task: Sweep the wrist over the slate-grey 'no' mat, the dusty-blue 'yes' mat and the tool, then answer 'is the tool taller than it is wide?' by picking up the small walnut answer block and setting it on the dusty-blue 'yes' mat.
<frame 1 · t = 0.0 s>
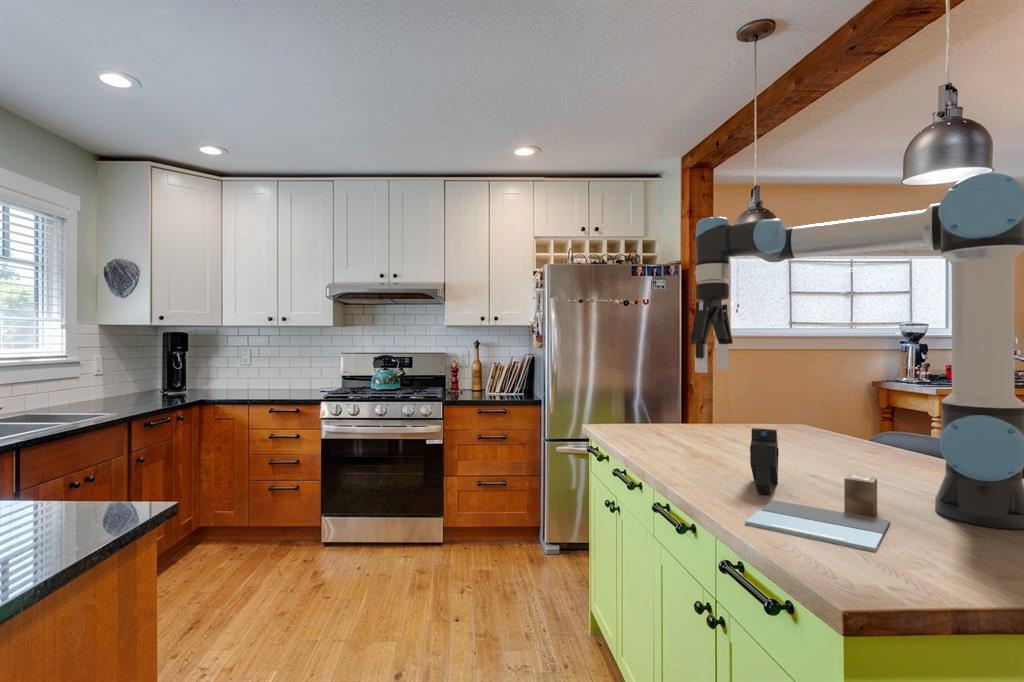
hand: (712, 371, 131), 28 cm above the countertop, fingers open, 13 cm apart
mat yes: (811, 530, 101), on the countertop
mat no: (823, 518, 108), on the countertop
answer block: (860, 512, 112), on the countertop
tool: (764, 487, 132), on the countertop
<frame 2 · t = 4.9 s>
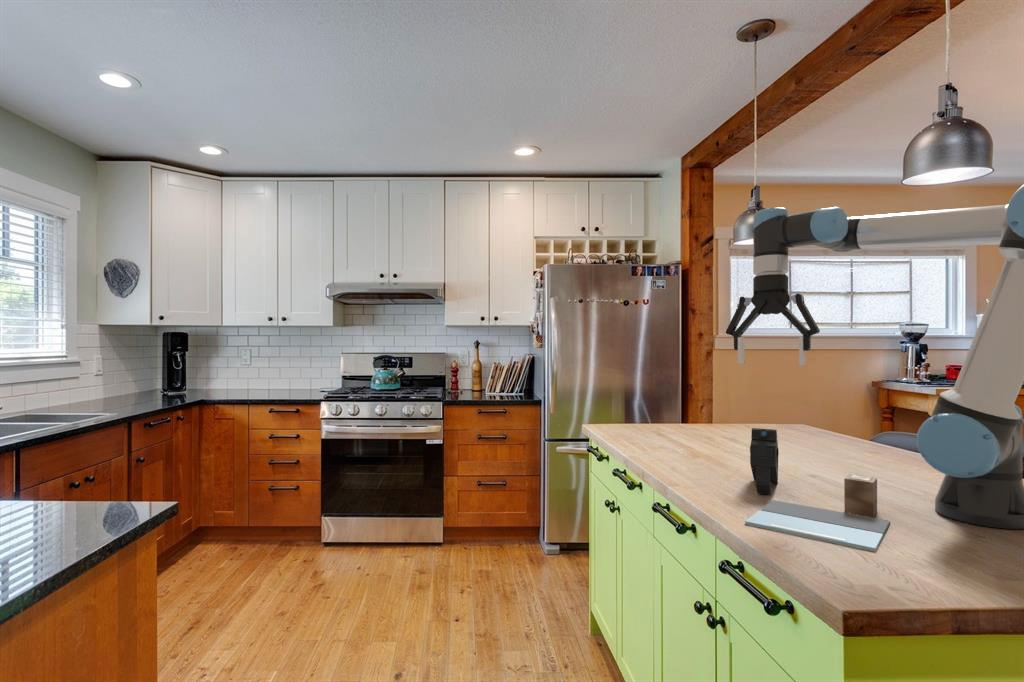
hand: (770, 364, 129), 30 cm above the countertop, fingers open, 13 cm apart
nothing on the countertop moved.
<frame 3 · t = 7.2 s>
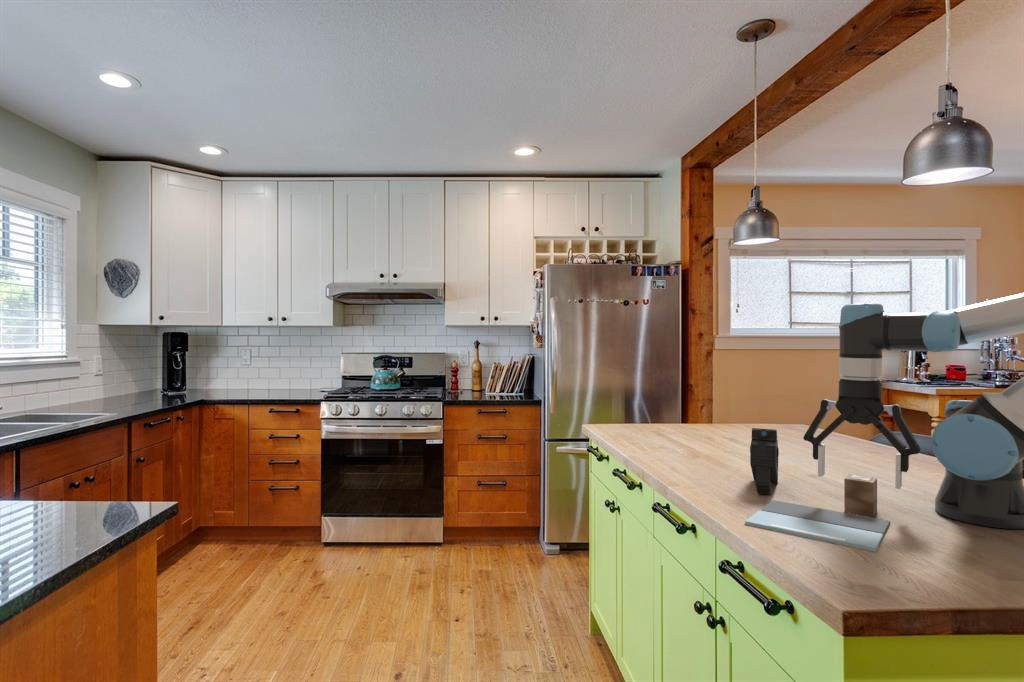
hand: (858, 481, 112), 6 cm above the countertop, fingers open, 13 cm apart
nothing on the countertop moved.
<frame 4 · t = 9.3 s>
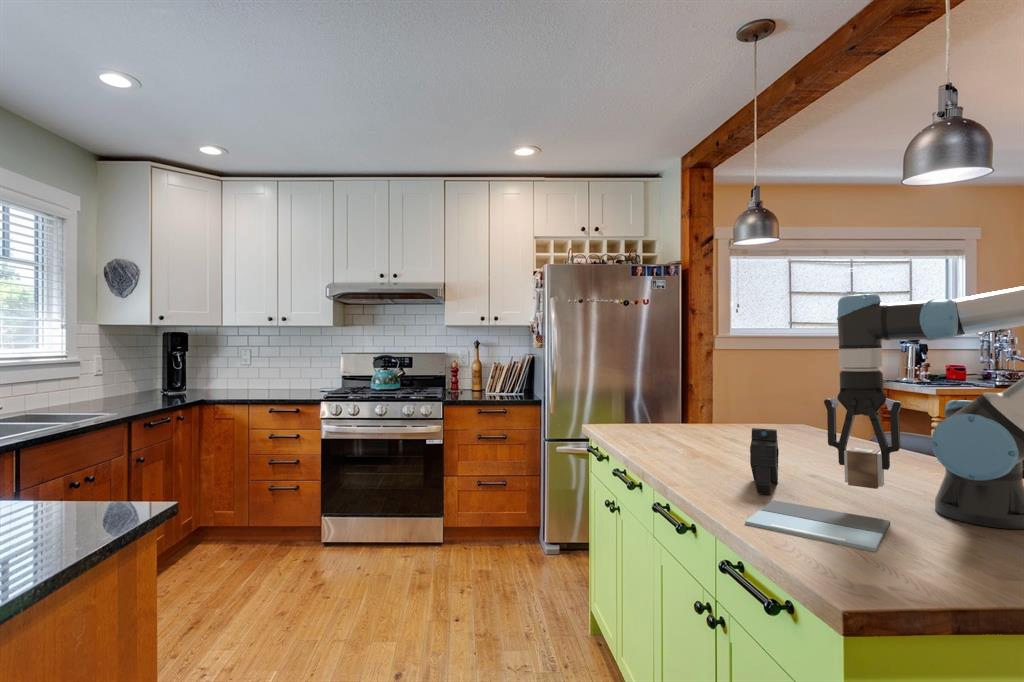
hand: (864, 482, 112), 6 cm above the countertop, fingers closed on answer block, 5 cm apart
answer block: (864, 484, 112), point 6 cm above the countertop, touching gripper
everything else where it was.
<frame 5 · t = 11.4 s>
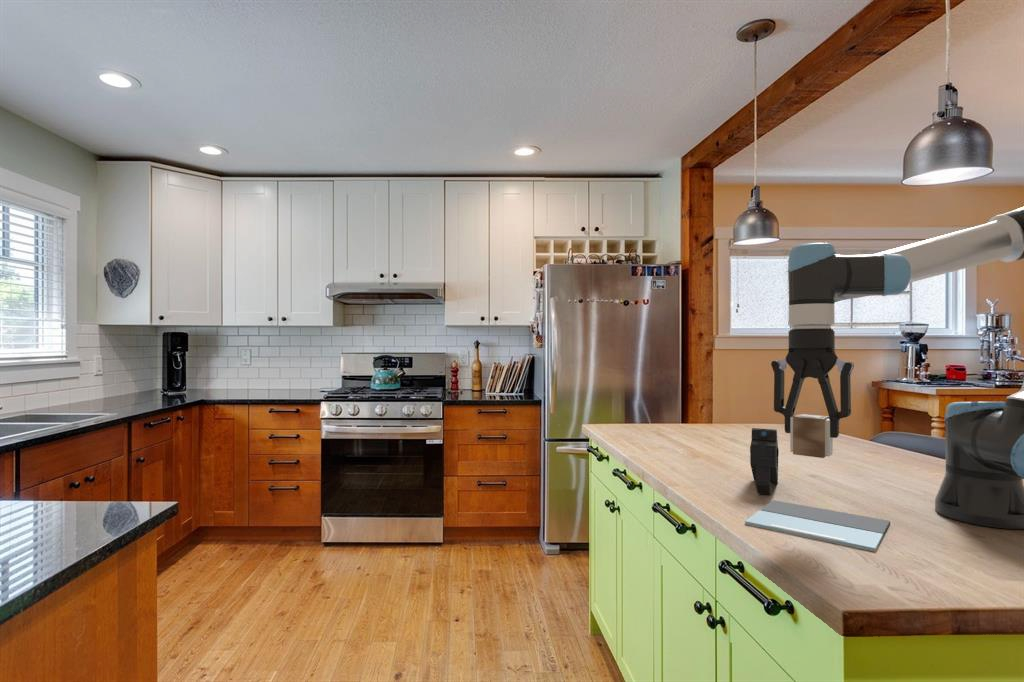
hand: (811, 452, 101), 14 cm above the countertop, fingers closed on answer block, 5 cm apart
answer block: (811, 454, 101), point 14 cm above the countertop, touching gripper
everything else where it was.
when the fingers open (1 cm above the countertop, at t = 13.7 s): answer block stays where it is, resting on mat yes.
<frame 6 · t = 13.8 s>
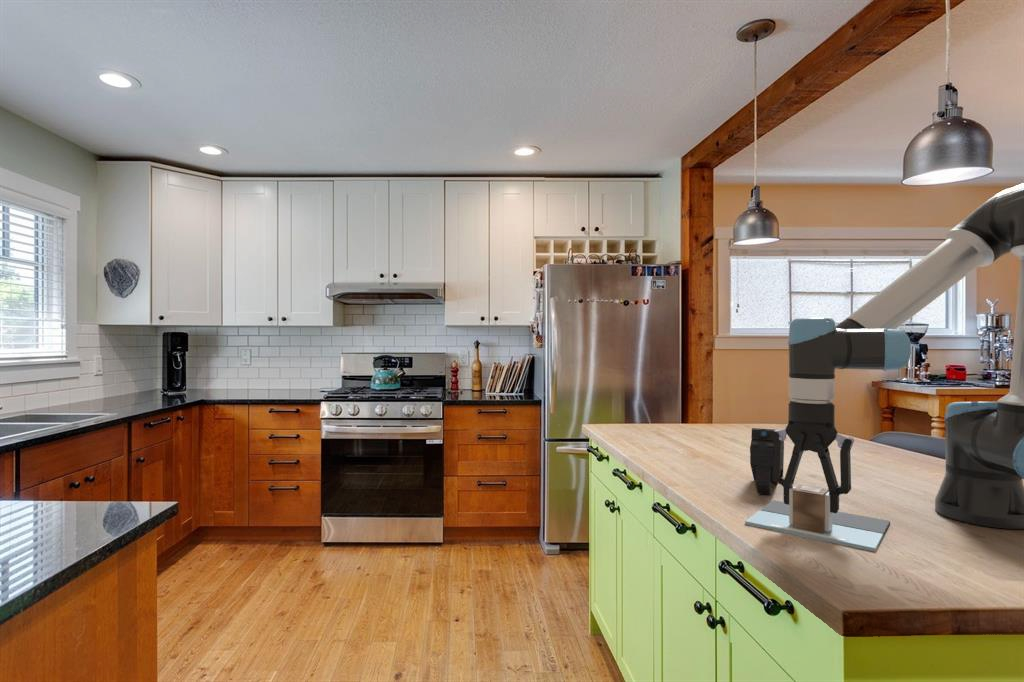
hand: (810, 525, 101), 1 cm above the countertop, fingers open, 5 cm apart
answer block: (811, 527, 101), point 1 cm above the countertop, touching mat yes
everything else where it was.
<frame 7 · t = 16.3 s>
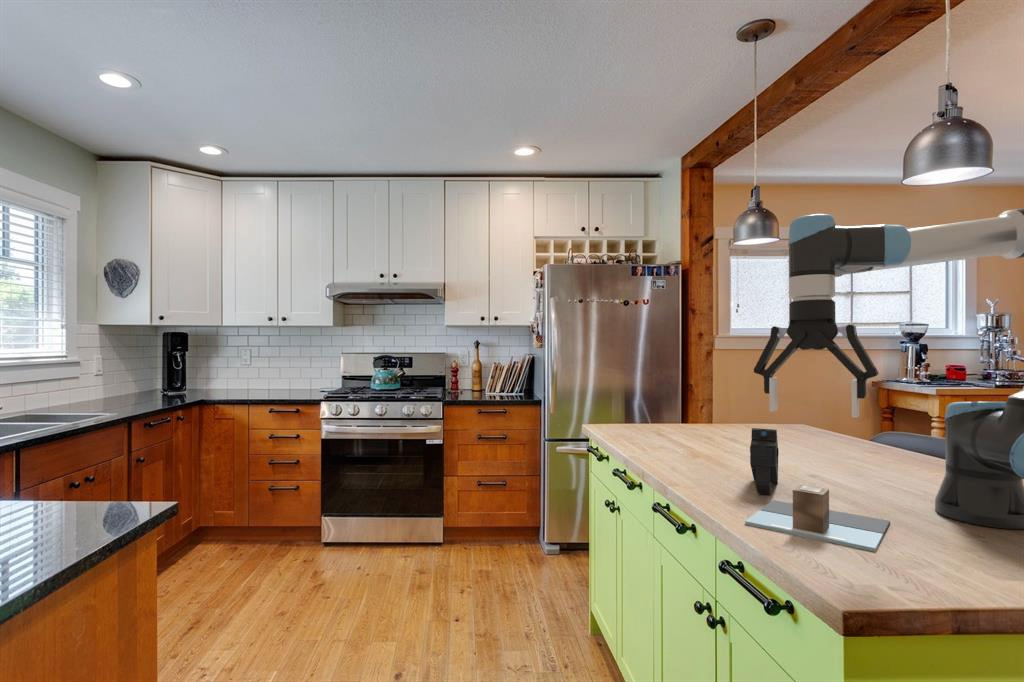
hand: (812, 413, 101), 22 cm above the countertop, fingers open, 13 cm apart
nothing on the countertop moved.
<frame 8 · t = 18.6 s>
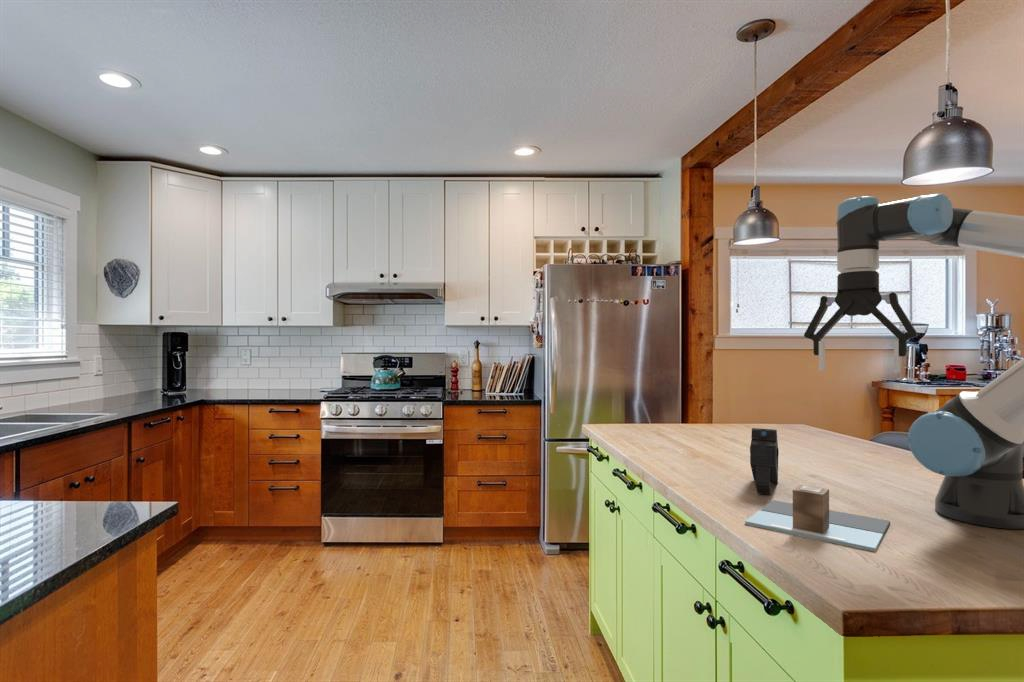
hand: (858, 371, 116), 29 cm above the countertop, fingers open, 13 cm apart
nothing on the countertop moved.
at the end: answer block 0.1 cm from the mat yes (horizontally); answer block tilted 0°; the gripper is holding nothing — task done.
